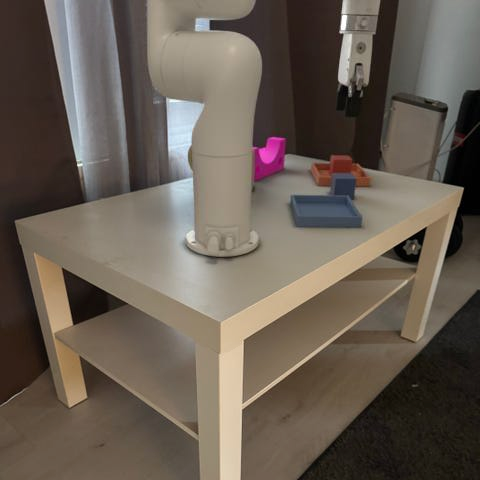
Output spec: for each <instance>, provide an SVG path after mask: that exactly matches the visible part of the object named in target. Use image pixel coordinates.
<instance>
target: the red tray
mask: <svg viewBox="0 0 480 480" xmlns="http://www.w3.org/2000/svg"><path fill="white" fill-rule="evenodd" d="M329 167H330V162H311V165H310V172H311V174H312V176H313V179H314V180H315V182H316V184H317V186H321V187H323V186H324V187H327V186H328V187H329V186H330V187H331V180H332V177H331V176H330V175H329ZM351 173H352V174H353V175H354V176H355V178H356V179H357V180H356V186H355V187H370V183H371V177H370V175H369V174H368V173H367V172H366V171H365V170H364V168H363V167H362V166H361V165H360V164H359V163H352V168H351Z"/></svg>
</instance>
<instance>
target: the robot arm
mask: <svg viewBox="0 0 480 480" xmlns="http://www.w3.org/2000/svg"><path fill="white" fill-rule="evenodd" d="M256 1H257V0H146V54H147V55H146V56H147V68H148V74H149V78H150V81H151V83H152V85H153V87H154V89H155V90H156V91H157V93H159V94H160V95H161V96H162V97H165V98H167V99H169V100H175V101H180V102H189V103H198V104H201V105H202V108H201V111H200V113H199V115H198V117H197V119H196V121H195V123H194V125H193V128H192V133H191V145H192V164H193V171H192V189H193V190H192V192H193V193H192V194H193V218H194V220H193V221H194V228H193V229H191V230H189V232H187V233H186V236H185V244H186V246H187V247H188V248H189V250H191V251H192V252H195V253H197V254H200V255H204V256H209V257H218V258H221V257H222V258H227V257H228V258H229V257H236V256H242V255H246V254H248V253H250V252H252V251H254V250H255V249H256V248H257V247H258V246H259V244H260V243H259V242H260V237H259V234H258V233H257V232H256V231H254V230H253V229H252V228H251V217H252V216H251V214H252V213H251V212H252V190H251V184H252V147H254V145H253V143H254V141H253V140H254V124H255V113H256V106H257V102H258V101H257V100H258V95H259V91H260V85H261V80H262V76H263V75H262V74H263V60H262V59H263V58H262V55H261V52H260V50H259V47H258V46H257V44H256V43H255V42H254V40H252V39H251V38H250V37H248V36H246V35H244V34H242V33H238V32H235V31H228V30H212V29H211V30H208V29H207V30H206V29H203V30H202V29H201V30H197V29H196V24H197V21H198V20H199V21H202V20H203V21H204V20H205V21H233V20H239V19H242V18H245V17H247V16H248V15H250V14H251V12H252V11H253V9H254V7H255V5H256ZM380 4H381V0H342V4H341V5H342V7H341V15H340V25H339V32H338V34H343V37H342V42H341V49H340V55H339V56H340V57H339V64H338V73H337V81H338V87H337V92H336V101H335V111H337V112H339V111H341V112H342V111H344V117H345V118H359V117H360V116H361V108H362V101H363V93H364V91H363V90H364V88H365V87H367V86H368V85H369V83H370V73H371V63H372V55H373V54H372V53H373V35H376V31H377V25H378V18H379V12H380V7H381V5H380Z"/></svg>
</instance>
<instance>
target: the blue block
mask: <svg viewBox="0 0 480 480" xmlns="http://www.w3.org/2000/svg"><path fill="white" fill-rule="evenodd" d="M356 180H357V179H356V178H355V176H354V175H353V174H352V173H332V180H331V186H330V188H329V195H342V196H349V197H350V199H351V200H354V199H355V194H356V193H355V192H356V187H357V186H356Z"/></svg>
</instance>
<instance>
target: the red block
mask: <svg viewBox="0 0 480 480" xmlns="http://www.w3.org/2000/svg"><path fill="white" fill-rule="evenodd" d="M329 159H330V160H329V163H330V167H329V175H330V176H331V177H332V173H351V168H352V164H353V158H352V157H351V156H350V155H345V154H343V155H341V154H340V155H339V154H338V155H337V154H335V155H334V154H331V155H330V158H329Z"/></svg>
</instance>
